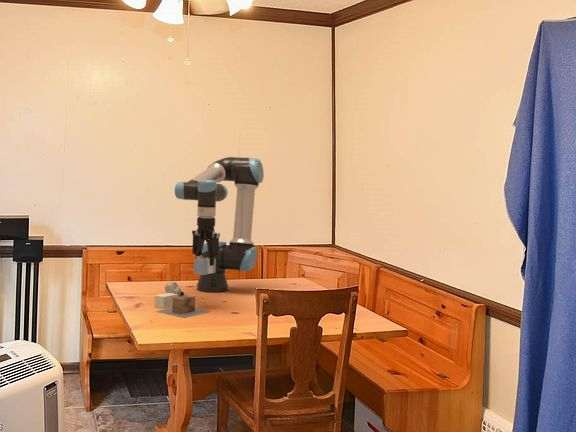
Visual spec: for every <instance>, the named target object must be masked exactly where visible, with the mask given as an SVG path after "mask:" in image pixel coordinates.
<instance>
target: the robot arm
mask: <svg viewBox="0 0 576 432" xmlns="http://www.w3.org/2000/svg"><path fill="white" fill-rule="evenodd" d="M264 175H265V174H264V167H263V164H262V162H261V160H260V159H259V158H255V157H237V156H236V157H234V156H229V157H224V158H221V159H218V160H216V161H214V162H212V163H211V164H209V165H208V166H207V168H206V169H205V170H204V171H202V172H201V173H198V174H197V175H196V176H194V177H193V178H191V179H190V180H188V181H180V182H178V181H177V183H176V184H175V187H174V195H175V198H176V199H177V200H183V201H197V212H196V213H197V215H196V216H197V218H196V226H197V228H196V230H195V229H194V230H191V233H192V249H191V250H192V251H191V252H192V255H195V259H200V258H206V257H207V258H208V259H207V273H208V274H206V275H199V278H198V281H197V284H196V290H197V291H199V292H204V293H222V292H227V291H228V290H229V284H228V280H227V276H226V270H230V271H240V272H249V271H251V270H253V268H254V267H255V266H256V264H257V263H256V262H257V260H258V259H257V257H258V249H257V247H255V246H254V242H253V241H252V234H253V233H252V232H253V231H252V230H253V221H254V220H253V218H254V207H255V206H254V205H255V195H256V193H255V192H256V190H257V189H258V188H259V184H261V183H263V181H264ZM221 182H234V186H235V187H236V197H235V198H236V199H235V211H234V223H233V234H232V235H233V236H232V239H230V241H229V243H228V244H227V242H226V241H220V236H221V233H220V232H216V231H215V226H216V214H217V213H216V210H217V209H216V207H217V205H216V203H217V202H221V201H224V200H225V199H227V196H228V194H229V193H228V191H229V190H228V188H227V187H226V185H224V184H223V183H221ZM214 259H216V267H215V273H213V265H214ZM209 273H212V274H209Z"/></svg>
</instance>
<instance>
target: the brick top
mask: <svg viewBox="0 0 576 432" xmlns="http://www.w3.org/2000/svg"><path fill="white" fill-rule="evenodd" d="M207 259H208V258H207V257H206V258H200V259H196V258H195V259H193V275H194V274H195V275H198V276H200V275H206V274H208V273H207ZM215 267H216V259H214V265H213V273H215ZM209 274H212V273H209Z"/></svg>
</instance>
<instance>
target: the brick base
mask: <svg viewBox="0 0 576 432" xmlns="http://www.w3.org/2000/svg"><path fill="white" fill-rule="evenodd" d="M171 308H172V312H174V313H178V314H184V313H188V312H193V311H195V308H196V296H194V295H190V294H189V295H188V294H184V295H183V296H178V297H173V304H172V307H171Z"/></svg>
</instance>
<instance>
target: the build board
mask: <svg viewBox="0 0 576 432" xmlns="http://www.w3.org/2000/svg"><path fill="white" fill-rule="evenodd" d="M154 312H155V313H160V314H163V315H164V314H165V315H168V316H174V317H177V318H183V319H187V318H191V317H195V316H199V315H205V314H207V313H212V311H209V310H205V309H201V308H197V307H195V311H193V312H188V313H184V314H178V313H174V312H172V307H169V308H165V309H160V310H156V311H154Z"/></svg>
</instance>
